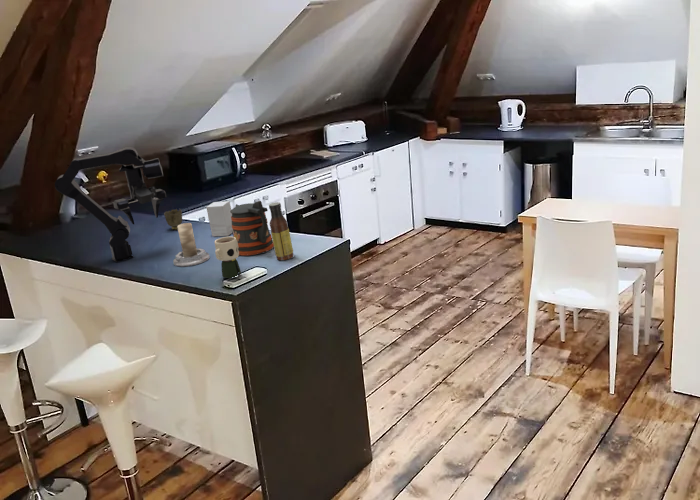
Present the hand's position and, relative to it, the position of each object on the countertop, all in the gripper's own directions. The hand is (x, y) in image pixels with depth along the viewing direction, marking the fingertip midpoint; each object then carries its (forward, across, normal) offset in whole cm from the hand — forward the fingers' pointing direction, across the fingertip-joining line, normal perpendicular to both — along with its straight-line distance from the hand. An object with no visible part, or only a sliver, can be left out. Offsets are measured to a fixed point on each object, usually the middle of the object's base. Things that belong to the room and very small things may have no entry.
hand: (145, 220), depth 260 cm
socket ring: (+13, +6, -23) cm, 27 cm away
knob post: (+12, +6, -23) cm, 27 cm away
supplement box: (+14, +29, -2) cm, 32 cm away
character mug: (+14, +8, -52) cm, 54 cm away
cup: (+13, +19, +24) cm, 34 cm away
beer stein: (+14, +27, -35) cm, 46 cm away
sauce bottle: (+14, +29, -51) cm, 60 cm away
